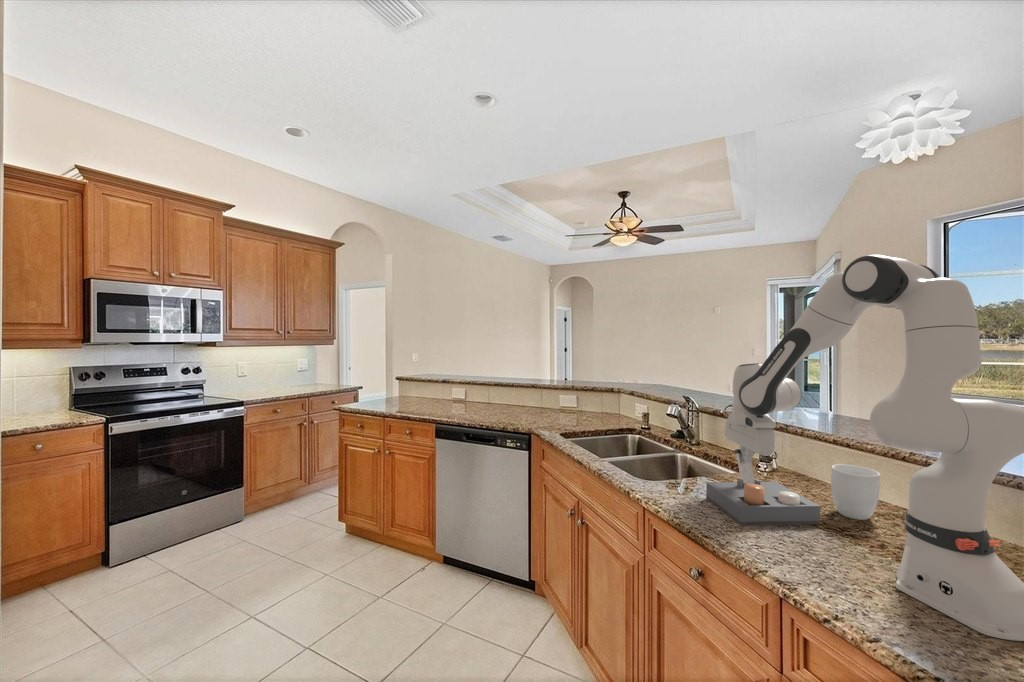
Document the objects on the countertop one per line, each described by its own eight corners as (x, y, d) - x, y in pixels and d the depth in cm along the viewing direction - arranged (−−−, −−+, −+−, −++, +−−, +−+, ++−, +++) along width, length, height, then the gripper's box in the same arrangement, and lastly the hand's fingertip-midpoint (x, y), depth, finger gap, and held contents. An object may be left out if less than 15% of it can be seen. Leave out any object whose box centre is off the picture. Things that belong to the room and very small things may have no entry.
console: (819, 524, 121) (820, 498, 121) (740, 525, 120) (741, 499, 120) (775, 497, 140) (775, 475, 140) (706, 498, 139) (706, 476, 139)
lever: (756, 486, 134) (749, 449, 138) (743, 486, 134) (737, 449, 138) (753, 486, 136) (747, 449, 140) (741, 486, 136) (734, 449, 139)
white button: (803, 515, 122) (804, 497, 122) (785, 516, 122) (786, 498, 122) (791, 508, 127) (791, 491, 127) (774, 508, 127) (774, 491, 127)
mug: (840, 501, 137) (841, 459, 137) (886, 513, 129) (888, 468, 128) (824, 514, 128) (825, 468, 127) (873, 527, 119) (874, 479, 119)
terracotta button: (768, 508, 122) (768, 489, 121) (750, 508, 121) (750, 490, 121) (757, 500, 127) (757, 483, 126) (740, 501, 126) (740, 483, 126)
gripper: (720, 409, 146) (719, 451, 146) (758, 423, 125) (756, 472, 126) (739, 409, 146) (738, 451, 146) (779, 423, 125) (778, 472, 126)
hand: (746, 461), depth 136 cm, fingers closed
